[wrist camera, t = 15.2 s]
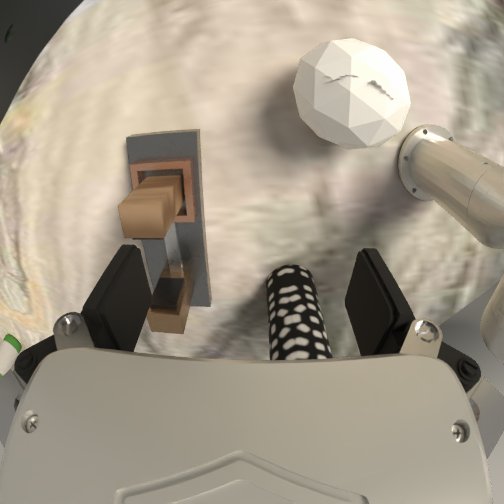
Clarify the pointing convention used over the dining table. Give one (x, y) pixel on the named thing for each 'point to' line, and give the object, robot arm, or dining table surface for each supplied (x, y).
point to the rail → (174, 228)
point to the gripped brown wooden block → (151, 207)
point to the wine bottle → (8, 353)
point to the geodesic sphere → (351, 93)
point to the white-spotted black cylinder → (295, 316)
